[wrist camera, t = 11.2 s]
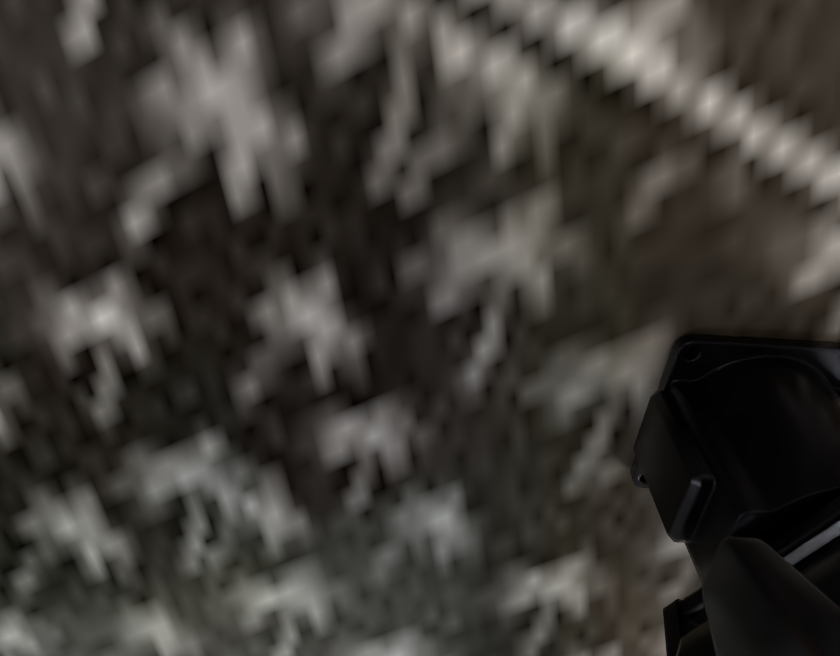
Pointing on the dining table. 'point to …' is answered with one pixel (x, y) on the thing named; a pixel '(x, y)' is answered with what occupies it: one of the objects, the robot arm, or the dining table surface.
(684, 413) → the robot arm
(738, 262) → the dining table surface
